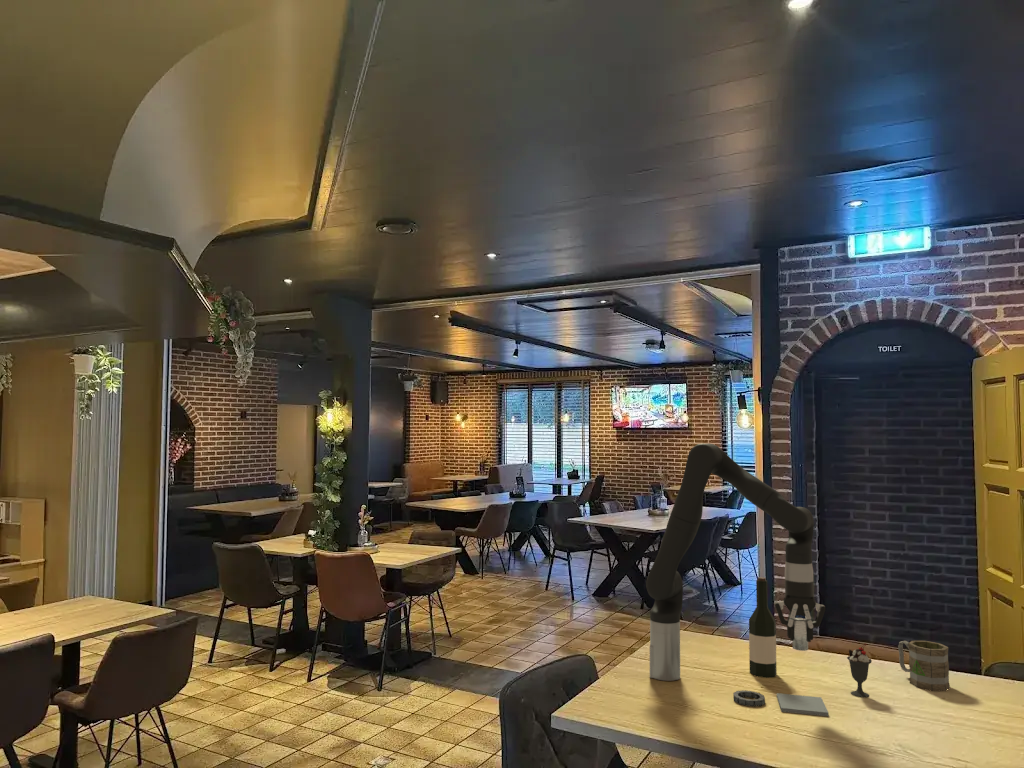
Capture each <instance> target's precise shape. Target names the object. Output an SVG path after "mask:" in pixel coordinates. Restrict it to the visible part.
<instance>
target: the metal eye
mask: <svg viewBox="0 0 1024 768" xmlns="http://www.w3.org/2000/svg"><path fill="white" fill-rule="evenodd" d="M732 694H733V702H735V703H737V704H738V705H741V706H742V705H743V706H745V707H755V708H756V707H763V706H764V705H766V698H765V695H763V694H762V693H760V692H757V691H752V690H744V689H743V690H736V691H734V692H733V693H732ZM750 698H751V699H750Z"/></svg>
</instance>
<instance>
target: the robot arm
mask: <svg viewBox="0 0 1024 768" xmlns="http://www.w3.org/2000/svg"><path fill="white" fill-rule="evenodd" d="M711 474H712V475H715V476H717V477H719V478H720V479H723V480H724V481H726V482H728V483H729V484H730V485H731V486H733V488H735V489H736V490H737V491H738V492H739V494H740V495H742V497H744V498H745V499H746V500H747V501H748V502H749V503H751V504H753V505H754V506H755V507H756V508H758V509H760V510H761V511H763V512H764V513H766V514H768V515H769V516H770V517H771V519H773V520H774V521H775V522H776V523H777V524H778V525H780V526H781V527H782V528H783V529H785V530H787V531H788V539H787V542H786V544H785V547H784V548H785V566H784V597H783V600H780V601H776V600H775V601H774V603H773V604H774V607H775V609H776V613H777V615H778V618H779V621H780V623H781V624H782V625H784V626H786V632H787V633H786V635H787V638H788V639H789V640H790V641H792V642H793V627H792V625H793V621H794V619H795V618H796V616H803V617H805V618H804V619H806V620H807V623H808V643H811V642H812V641H813V640H814V629H815V628H819V627H820V626H821V623H822V621H823V618H824V615H825V612H826V609H827V607H826V606H825V605H824V604H820V603H817V601H816V600H815V595H814V594H815V593H814V592H815V591H814V590H815V588H814V568H813V551H812V549H813V548H812V546H813V545H812V543H813V536H814V530H815V529H814V528H815V527H814V526H815V525H814V523H815V522H814V517H813V514H812V512H811V511H810V510H809V509H808V508H806V507H804V506H803V507H802V506H795V505H793V504H792V503H790V502H789V501H787V500H786V499H785V498H784V496H783V495H782V494H781V493H780V492H779V491H777V489H775V488H773V487H771V486H770V485H768V484H767V483H765V482H764V481H762V480H760V479H759V478H758V477H756V476H755V475H753V474H751V473H750V472H749V471H747V470H746V469H744V468H743V467H742V466H741V465H739V464H738V463H737V462H736V461H735V460H733V459H732V458H731V457H730V456H729V455H728V454H727V453H726V452H725V451H724V450H723V449H721V448H720V447H719V446H718V445H716V444H713V443H698V444H696V445H694V446H693V447H692V448H691V449H690V451H689V452H688V455H687V458H686V464H685V469H684V472H683V477H682V480H681V484H680V487H679V490H678V493H677V495H676V498H675V500H674V503H673V506H672V510H671V511H670V514H669V517H668V520H667V524H666V528H665V530H664V533H663V536H662V540H661V543H660V547H659V549H658V553H657V555H656V557H655V560H654V562H653V563H652V567H651V568H650V569H649V572H648V574H647V575H648V576H647V577H646V581H645V586H646V590H647V593H648V595H649V596H650V598H652V599H654V603H653V606H652V607H651V609H650V611H649V614H650V615H649V637H650V638H649V641H650V642H649V678H651V679H655V680H657V681H658V680H659V681H664V682H665V681H667V682H672V681H677V680H680V679H681V615H682V614H681V613H682V611H683V595H684V587H683V585H684V584H683V579H682V576H681V574H680V572H679V571H678V568H679V565H680V563H681V560H682V559H683V557H684V555H686V553H687V551H688V550H689V548H690V546H691V545H692V544H693V541H694V539H695V537H696V535H697V533H698V530H699V527H700V525H701V522H702V517H703V509H704V508H703V507H704V506H703V504H704V492H705V489H706V486H707V484H708V481H709V478H710V477H711ZM784 606H786V608H787V609H788V610H789V611H788V615H787V619H785V617H784V614H783V611H782V610H784ZM814 609H815V610H816V612H817V613H816V616H815V619H814V620H813V621H812V616H811V613H812V611H813V610H814Z"/></svg>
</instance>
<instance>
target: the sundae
mask: <svg viewBox="0 0 1024 768" xmlns="http://www.w3.org/2000/svg"><path fill="white" fill-rule="evenodd" d="M865 646H868V644H867V643H864V644H863V645H861V647H858V648H856V649H854V650H851V649H848V653H849V655H848V656H846V659H847V660H848V662H849V666H850V667H849V668H850V674H851V678H852V679H853V680H855V681H856V682H857V689H856V690H852V691H850V694H851V695H852V696H854V697H858V698H869V697H870V694H869V693H868V692H865V691H864V690H863V683H864V682H866V681H867V679H868V675H869V669H870V668H869V665H870V664H872V658H869V656H868V655H867V654H866V653H867V651H866V650H864V648H865Z"/></svg>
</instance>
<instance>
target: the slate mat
mask: <svg viewBox="0 0 1024 768" xmlns="http://www.w3.org/2000/svg"><path fill="white" fill-rule="evenodd" d="M776 698H777V702H778V703H777V704H778V706H779V709H780V711H781V713H791V714H803V715H810V716H811V715H812V716H820V717H829V710H828V708H827V706H826V704H825V702H824V701H823V698H822V697H821V696H810V695H799V694H792V693H791V694H790V693H780V692H779V693H778V692H776Z"/></svg>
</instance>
